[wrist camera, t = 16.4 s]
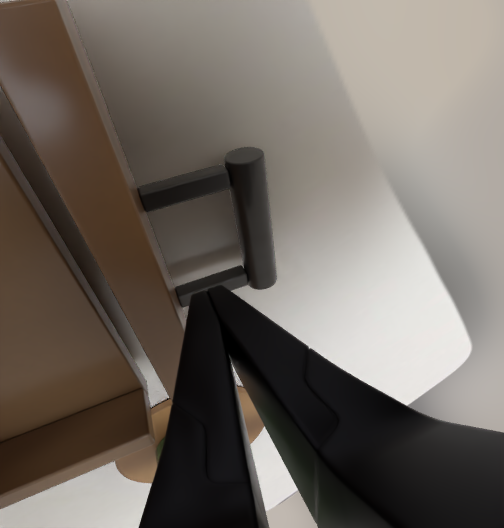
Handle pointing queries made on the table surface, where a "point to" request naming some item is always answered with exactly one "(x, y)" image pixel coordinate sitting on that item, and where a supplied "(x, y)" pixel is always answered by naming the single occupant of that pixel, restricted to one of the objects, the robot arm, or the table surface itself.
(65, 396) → the drawer
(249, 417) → the coaster
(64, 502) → the table surface
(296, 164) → the table surface
